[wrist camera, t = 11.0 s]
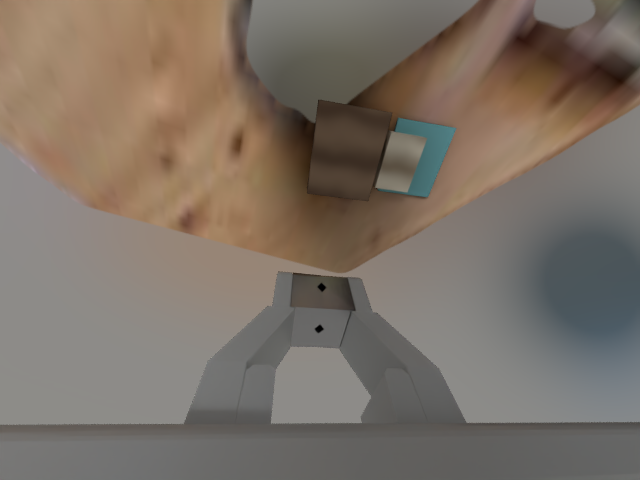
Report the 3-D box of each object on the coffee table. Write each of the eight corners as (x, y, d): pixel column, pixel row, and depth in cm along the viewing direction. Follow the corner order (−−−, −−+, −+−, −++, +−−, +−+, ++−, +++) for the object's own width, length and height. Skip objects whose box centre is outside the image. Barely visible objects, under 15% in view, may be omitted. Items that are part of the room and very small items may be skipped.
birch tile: (387, 130, 37) (391, 131, 35) (421, 136, 38) (427, 138, 36) (372, 184, 41) (375, 187, 40) (403, 188, 42) (407, 192, 40)
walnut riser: (318, 99, 34) (319, 99, 32) (387, 112, 36) (392, 112, 34) (307, 188, 41) (307, 193, 39) (365, 196, 43) (368, 201, 41)
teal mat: (398, 117, 36) (398, 118, 36) (454, 127, 38) (456, 128, 37) (377, 189, 42) (377, 190, 42) (426, 196, 44) (427, 197, 43)
